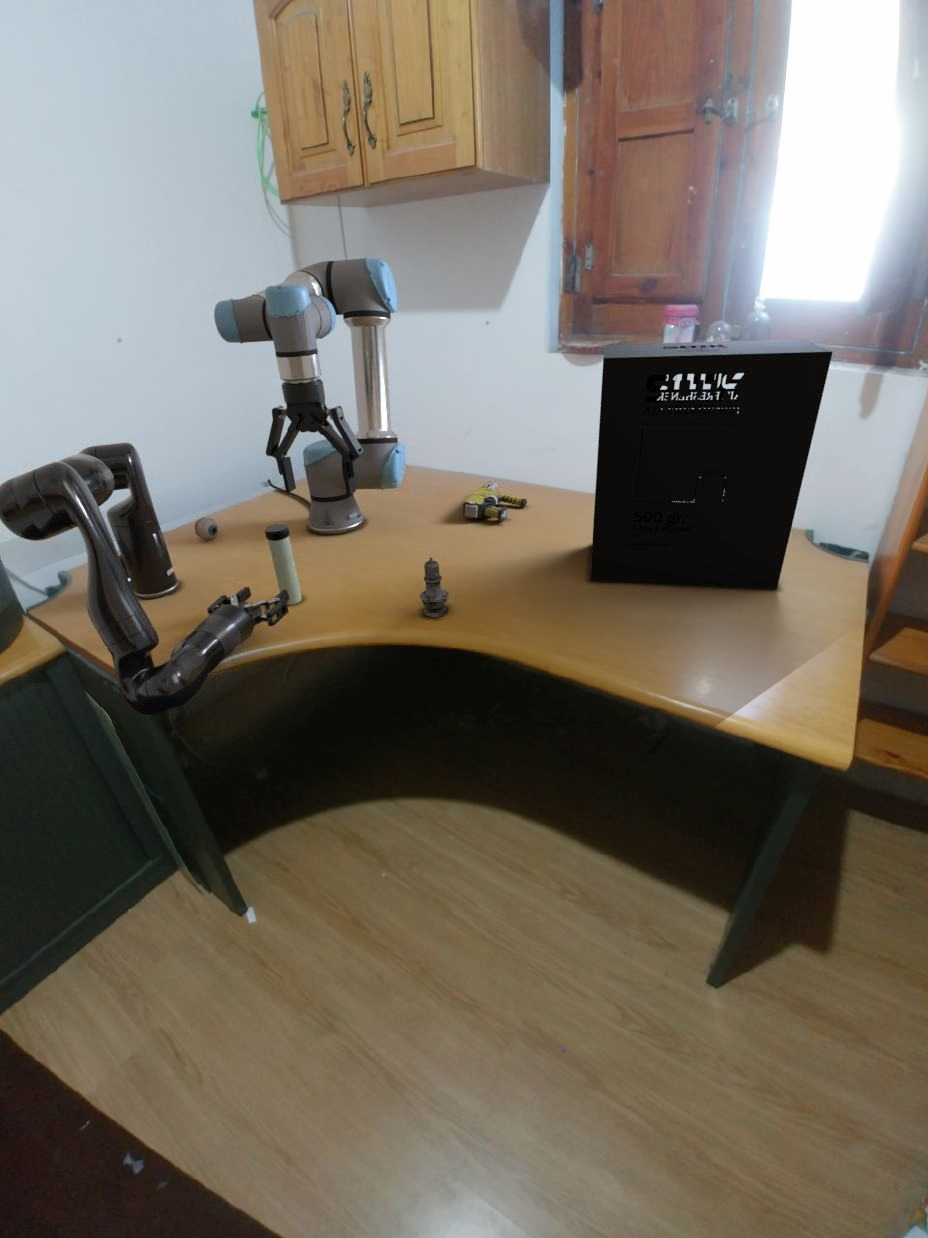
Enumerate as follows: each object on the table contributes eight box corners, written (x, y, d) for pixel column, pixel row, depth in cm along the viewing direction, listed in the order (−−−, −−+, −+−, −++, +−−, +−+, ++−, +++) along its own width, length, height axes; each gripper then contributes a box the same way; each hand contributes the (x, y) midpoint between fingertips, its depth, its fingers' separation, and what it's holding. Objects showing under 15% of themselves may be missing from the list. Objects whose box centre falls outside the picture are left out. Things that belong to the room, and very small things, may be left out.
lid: (284, 540, 121) (282, 532, 120) (262, 540, 122) (260, 532, 121) (292, 531, 125) (291, 523, 124) (271, 531, 126) (269, 523, 125)
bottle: (297, 605, 129) (282, 533, 121) (279, 604, 130) (262, 533, 121) (304, 595, 133) (290, 525, 124) (286, 595, 133) (270, 526, 125)
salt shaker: (446, 618, 120) (442, 563, 114) (417, 616, 122) (412, 562, 116) (452, 604, 125) (448, 551, 119) (425, 602, 126) (420, 550, 120)
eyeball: (208, 544, 161) (202, 523, 158) (193, 540, 164) (187, 519, 161) (226, 536, 166) (220, 516, 163) (211, 533, 169) (205, 512, 166)
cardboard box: (756, 549, 141) (800, 338, 118) (776, 589, 124) (832, 351, 101) (592, 544, 148) (604, 344, 126) (590, 580, 131) (603, 357, 109)
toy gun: (534, 486, 180) (487, 479, 184) (513, 510, 160) (461, 501, 164) (533, 501, 182) (486, 494, 186) (512, 527, 162) (460, 518, 166)
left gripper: (251, 619, 104) (295, 577, 118) (181, 612, 108) (231, 573, 121) (261, 655, 108) (302, 611, 122) (192, 648, 111) (240, 605, 125)
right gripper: (371, 375, 111) (385, 488, 122) (254, 377, 118) (276, 483, 128) (354, 382, 105) (370, 500, 115) (231, 383, 111) (256, 494, 122)
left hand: (267, 592), depth 121 cm, fingers open, 8 cm apart
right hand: (320, 491), depth 122 cm, fingers open, 13 cm apart
